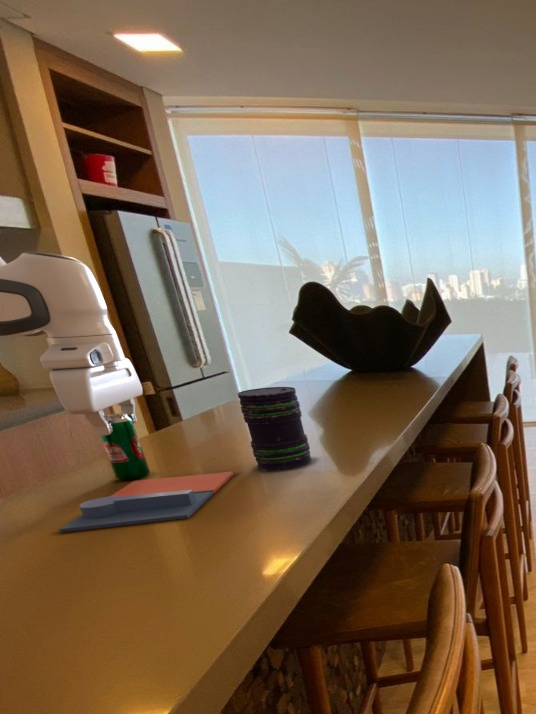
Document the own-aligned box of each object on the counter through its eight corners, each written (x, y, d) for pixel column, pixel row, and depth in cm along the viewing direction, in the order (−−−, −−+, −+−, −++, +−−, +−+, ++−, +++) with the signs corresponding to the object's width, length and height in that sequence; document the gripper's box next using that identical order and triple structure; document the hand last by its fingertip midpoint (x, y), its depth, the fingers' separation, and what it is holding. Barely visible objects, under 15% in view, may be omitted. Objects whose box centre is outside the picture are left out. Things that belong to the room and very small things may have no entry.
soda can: (110, 480, 107) (86, 418, 103) (137, 472, 112) (116, 412, 107) (130, 482, 106) (107, 419, 101) (157, 474, 110) (136, 413, 106)
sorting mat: (60, 532, 84) (58, 528, 84) (134, 484, 105) (133, 480, 105) (188, 518, 89) (186, 514, 88) (234, 474, 110) (233, 470, 109)
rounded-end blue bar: (76, 520, 87) (71, 508, 86) (93, 508, 91) (89, 497, 91) (188, 508, 91) (184, 496, 90) (199, 497, 96) (196, 486, 95)
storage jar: (261, 474, 109) (239, 397, 104) (253, 463, 116) (233, 390, 111) (317, 464, 115) (300, 391, 109) (307, 454, 122) (291, 385, 116)
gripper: (98, 348, 108) (125, 419, 113) (32, 360, 90) (67, 443, 96) (138, 346, 110) (162, 416, 115) (81, 357, 92) (113, 439, 97)
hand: (119, 428), depth 105 cm, fingers open, 8 cm apart
